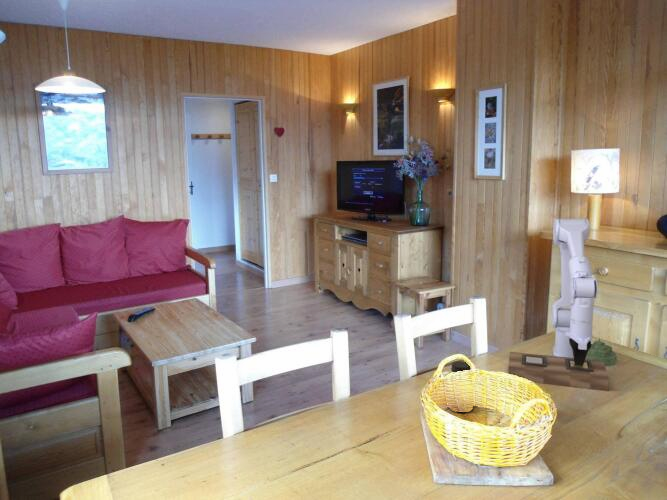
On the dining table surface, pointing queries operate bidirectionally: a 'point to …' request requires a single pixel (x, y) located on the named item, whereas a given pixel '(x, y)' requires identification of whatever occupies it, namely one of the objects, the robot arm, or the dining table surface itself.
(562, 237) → the robot arm
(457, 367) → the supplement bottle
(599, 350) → the decorative artifact
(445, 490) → the dining table surface
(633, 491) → the dining table surface
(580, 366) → the brass peg
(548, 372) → the walnut board
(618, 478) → the dining table surface
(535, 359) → the steel peg
